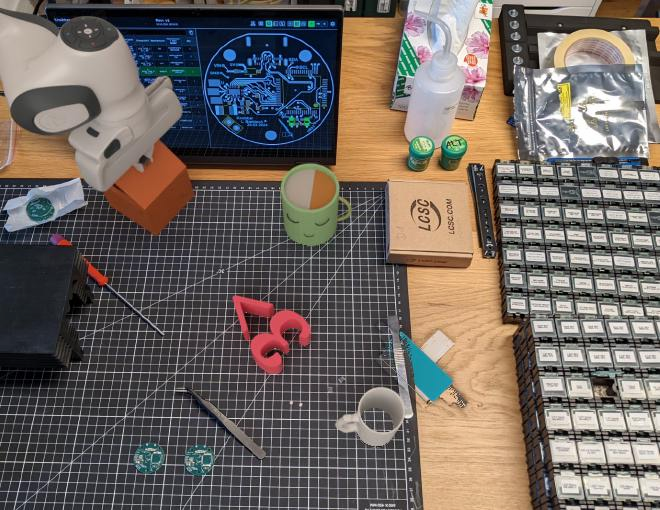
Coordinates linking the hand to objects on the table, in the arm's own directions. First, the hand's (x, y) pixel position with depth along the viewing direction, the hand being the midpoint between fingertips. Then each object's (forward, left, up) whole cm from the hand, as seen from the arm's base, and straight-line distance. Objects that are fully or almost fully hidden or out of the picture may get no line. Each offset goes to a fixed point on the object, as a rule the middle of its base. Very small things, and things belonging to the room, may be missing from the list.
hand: (144, 165), depth 107 cm
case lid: (-2, 0, -1) cm, 2 cm away
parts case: (-2, 0, -13) cm, 13 cm away
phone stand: (+57, +1, -13) cm, 58 cm away
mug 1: (+27, +13, -13) cm, 33 cm away
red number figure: (+32, -10, -13) cm, 36 cm away
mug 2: (+55, -14, -13) cm, 58 cm away
